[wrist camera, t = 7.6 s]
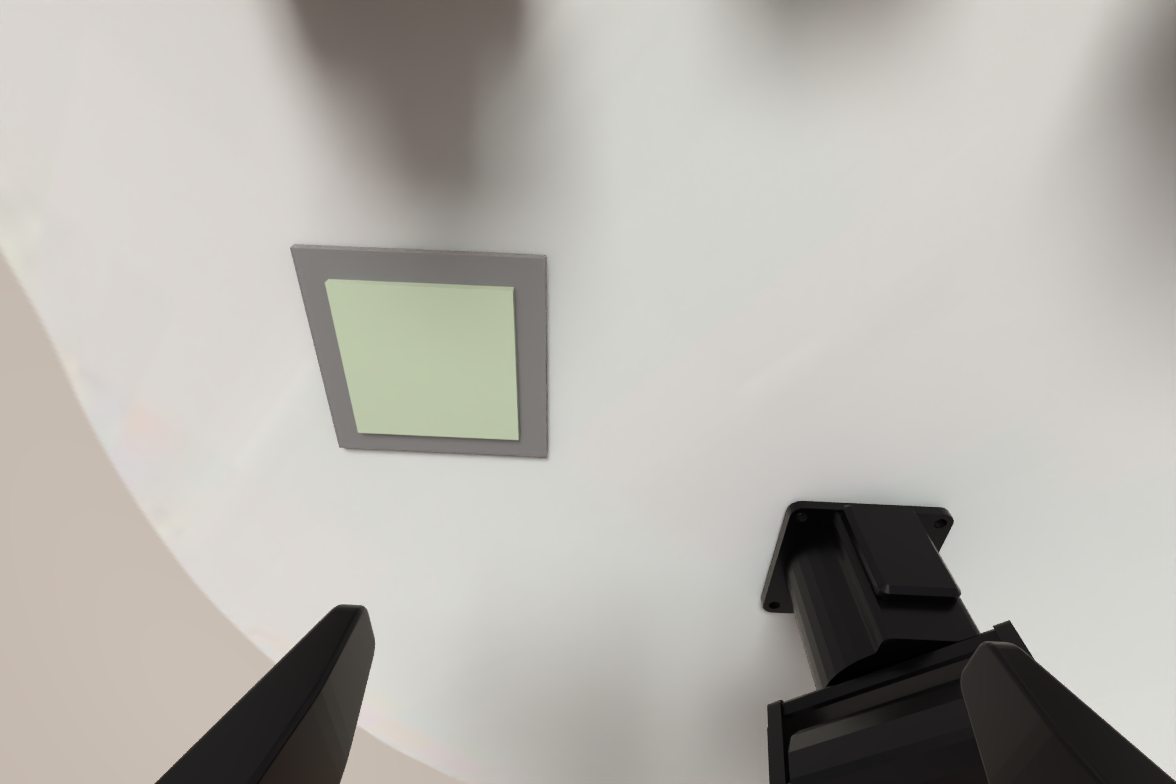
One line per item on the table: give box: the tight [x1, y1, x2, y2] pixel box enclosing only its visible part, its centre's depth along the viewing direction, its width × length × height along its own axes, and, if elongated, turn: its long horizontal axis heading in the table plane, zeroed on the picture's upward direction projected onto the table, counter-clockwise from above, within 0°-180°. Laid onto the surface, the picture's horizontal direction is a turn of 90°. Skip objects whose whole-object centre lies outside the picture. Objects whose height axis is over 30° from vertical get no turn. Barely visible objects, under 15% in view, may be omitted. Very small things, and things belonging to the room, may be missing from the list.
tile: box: [290, 244, 547, 457], centre depth 21 cm, size 8×8×1 cm
